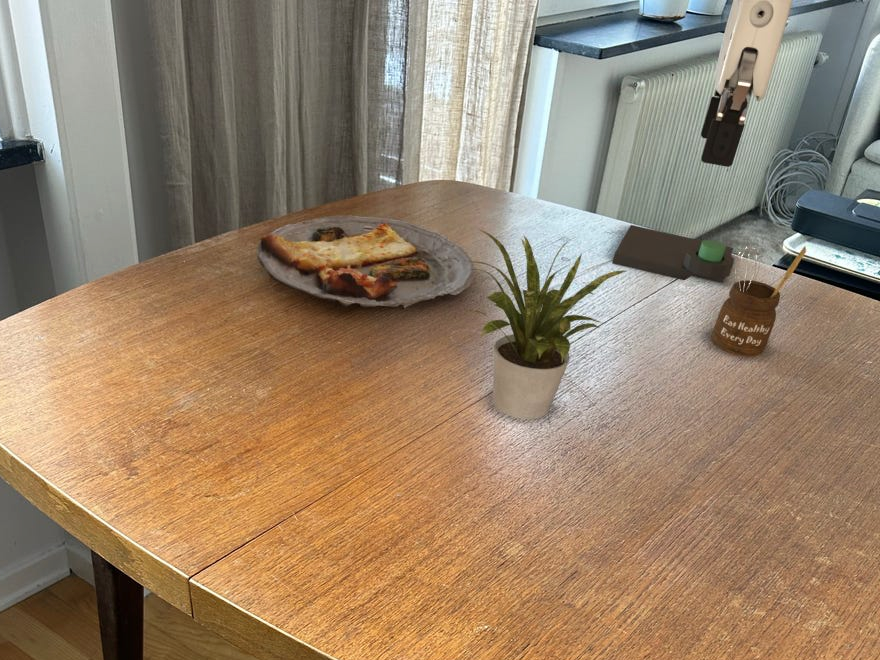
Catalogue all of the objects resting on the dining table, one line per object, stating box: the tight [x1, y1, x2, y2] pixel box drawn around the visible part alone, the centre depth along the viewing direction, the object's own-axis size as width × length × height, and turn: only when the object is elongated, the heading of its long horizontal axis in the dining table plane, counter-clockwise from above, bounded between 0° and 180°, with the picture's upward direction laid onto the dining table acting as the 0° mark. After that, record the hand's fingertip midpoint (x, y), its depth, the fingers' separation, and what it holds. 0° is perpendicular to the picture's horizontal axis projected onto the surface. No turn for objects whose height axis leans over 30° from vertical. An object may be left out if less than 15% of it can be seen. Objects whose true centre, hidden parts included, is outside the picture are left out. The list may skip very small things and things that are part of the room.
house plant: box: [467, 227, 627, 420], centre depth 86 cm, size 14×14×16 cm
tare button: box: [698, 239, 727, 262], centre depth 119 cm, size 3×3×2 cm
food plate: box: [256, 214, 474, 309], centre depth 110 cm, size 25×23×4 cm
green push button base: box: [611, 224, 735, 284], centre depth 123 cm, size 14×13×3 cm
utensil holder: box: [710, 245, 807, 357], centre depth 102 cm, size 6×6×12 cm
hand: (715, 151), depth 102 cm, fingers open, 9 cm apart
